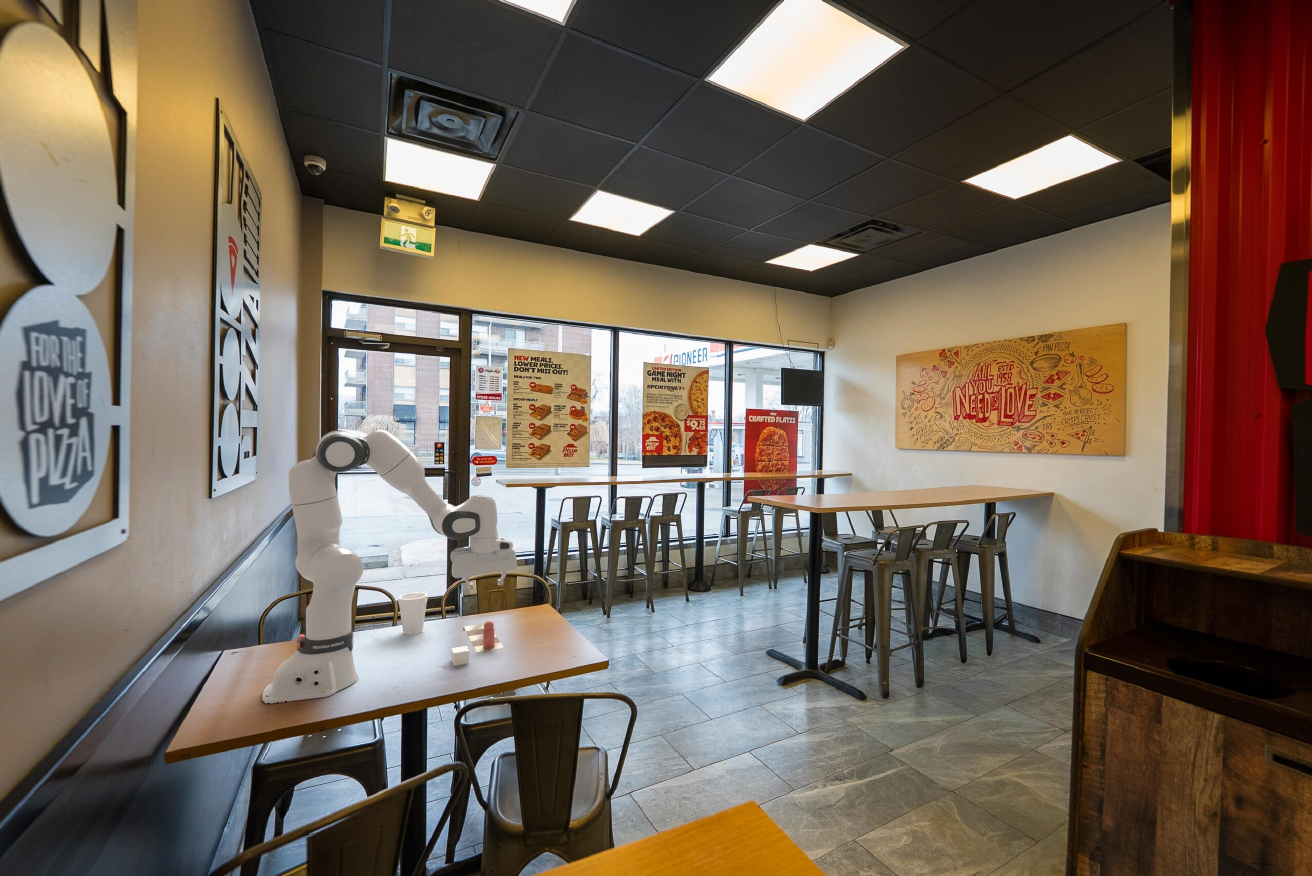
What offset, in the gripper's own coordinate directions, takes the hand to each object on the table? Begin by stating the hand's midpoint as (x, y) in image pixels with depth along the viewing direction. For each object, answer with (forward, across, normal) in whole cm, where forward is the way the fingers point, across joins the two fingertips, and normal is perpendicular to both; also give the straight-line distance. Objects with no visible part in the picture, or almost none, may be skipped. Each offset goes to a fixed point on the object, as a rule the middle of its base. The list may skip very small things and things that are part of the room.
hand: (485, 587), depth 179 cm
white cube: (+21, -9, -6) cm, 24 cm away
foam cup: (+21, -21, +30) cm, 42 cm away
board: (+21, 0, +13) cm, 25 cm away
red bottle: (+20, +1, +2) cm, 21 cm away
